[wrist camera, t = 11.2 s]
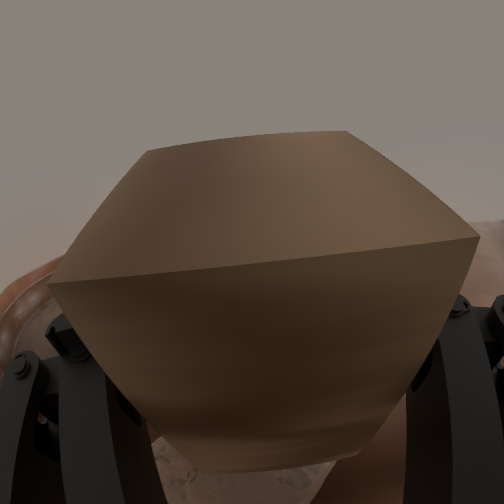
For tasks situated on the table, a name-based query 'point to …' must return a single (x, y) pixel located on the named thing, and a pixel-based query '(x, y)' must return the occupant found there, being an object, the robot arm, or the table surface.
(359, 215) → the walnut block
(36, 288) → the plant saucer
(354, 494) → the table surface
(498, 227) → the table surface
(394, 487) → the table surface
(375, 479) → the table surface
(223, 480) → the brick
